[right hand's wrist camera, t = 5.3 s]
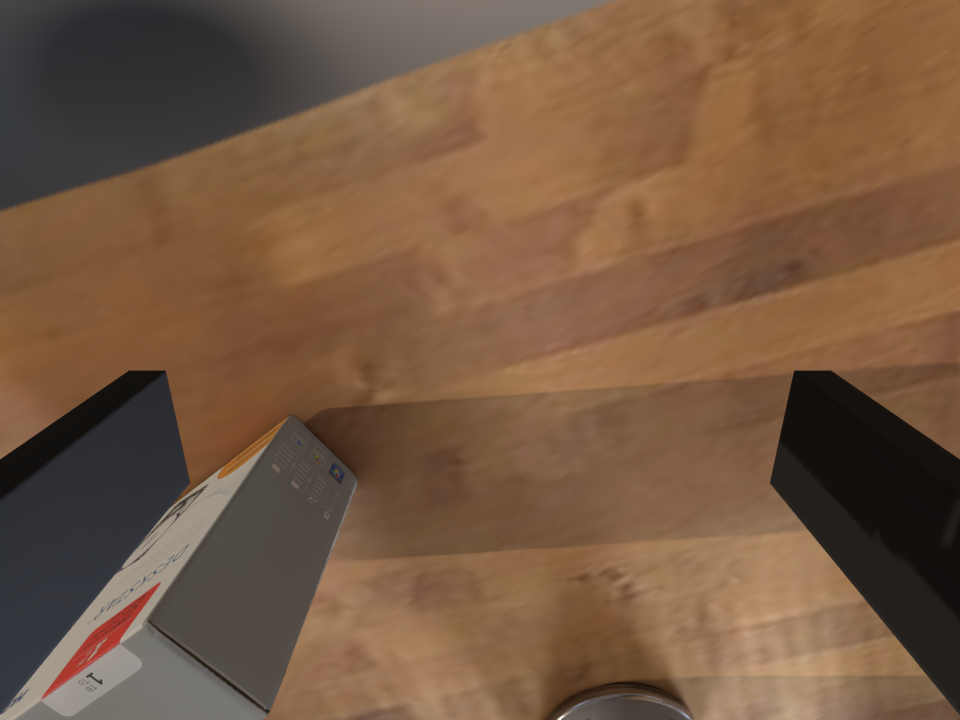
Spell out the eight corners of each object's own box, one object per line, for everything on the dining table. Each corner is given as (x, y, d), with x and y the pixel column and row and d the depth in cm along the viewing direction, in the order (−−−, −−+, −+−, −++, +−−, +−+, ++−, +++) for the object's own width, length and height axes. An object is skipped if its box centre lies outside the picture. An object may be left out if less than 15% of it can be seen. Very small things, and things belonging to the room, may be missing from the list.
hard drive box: (292, 408, 43) (151, 618, 25) (362, 477, 45) (281, 718, 27) (154, 516, 47) (-59, 770, 28) (225, 575, 49) (71, 847, 30)
